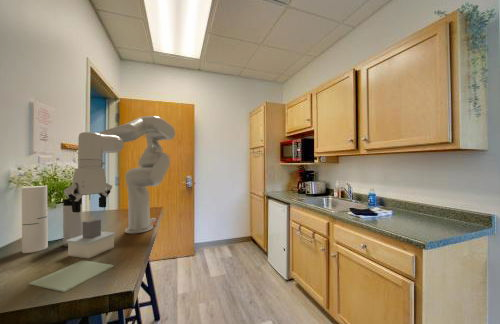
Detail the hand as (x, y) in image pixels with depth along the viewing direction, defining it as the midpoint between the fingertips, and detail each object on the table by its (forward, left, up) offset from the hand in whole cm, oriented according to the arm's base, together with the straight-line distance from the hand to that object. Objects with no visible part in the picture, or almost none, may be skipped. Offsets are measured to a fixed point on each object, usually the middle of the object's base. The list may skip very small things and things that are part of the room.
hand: (90, 209), depth 79 cm
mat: (+13, +12, -16) cm, 24 cm away
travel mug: (-5, -16, -17) cm, 23 cm away
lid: (-1, 0, -11) cm, 11 cm away
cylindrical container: (+3, -25, -17) cm, 30 cm away
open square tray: (-1, 0, -16) cm, 16 cm away
